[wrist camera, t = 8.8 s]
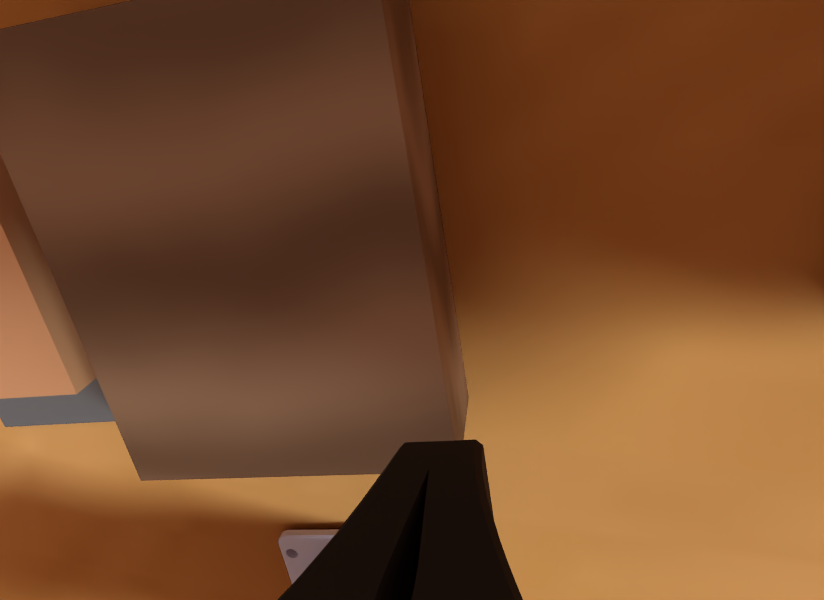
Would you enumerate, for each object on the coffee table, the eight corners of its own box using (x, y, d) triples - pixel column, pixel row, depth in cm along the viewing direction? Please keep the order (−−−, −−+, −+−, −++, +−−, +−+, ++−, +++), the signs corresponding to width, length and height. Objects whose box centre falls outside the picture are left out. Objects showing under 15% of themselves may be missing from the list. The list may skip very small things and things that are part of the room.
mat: (197, 412, 24) (193, 417, 24) (10, 422, 26) (5, 426, 25) (60, 37, 18) (54, 37, 18) (-163, 84, 20) (-173, 85, 20)
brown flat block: (468, 398, 22) (459, 471, 18) (197, 412, 24) (141, 480, 20) (403, -35, 16) (372, -52, 13) (60, 37, 18) (-49, 39, 15)
